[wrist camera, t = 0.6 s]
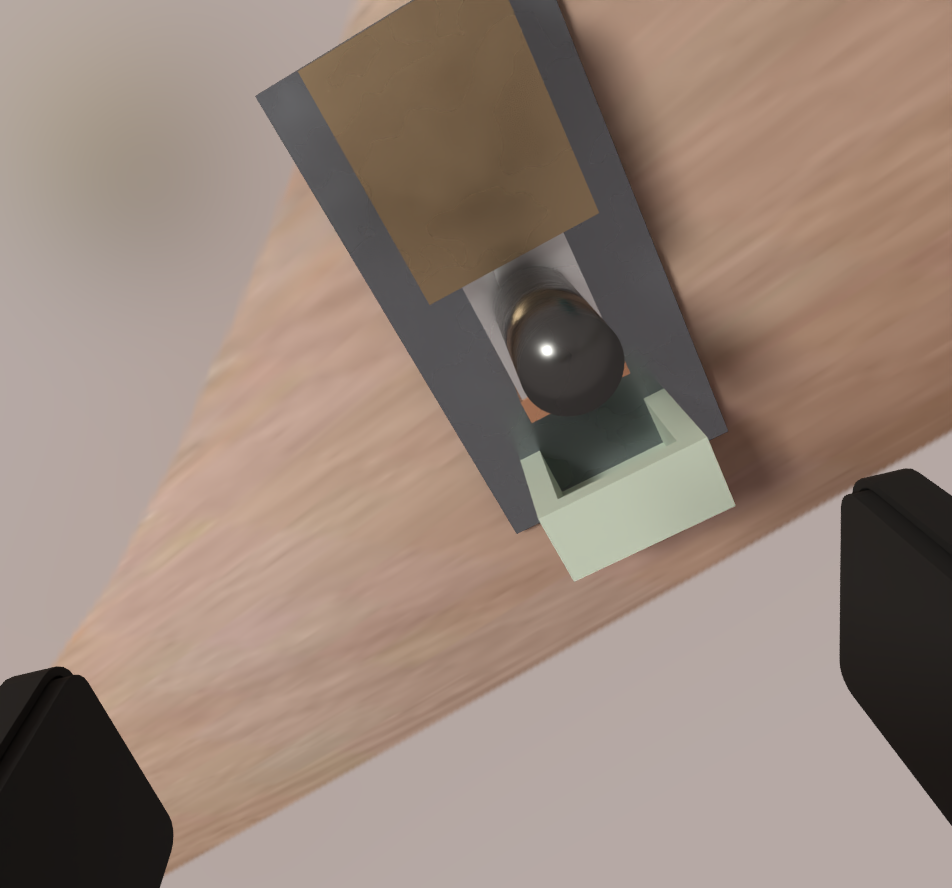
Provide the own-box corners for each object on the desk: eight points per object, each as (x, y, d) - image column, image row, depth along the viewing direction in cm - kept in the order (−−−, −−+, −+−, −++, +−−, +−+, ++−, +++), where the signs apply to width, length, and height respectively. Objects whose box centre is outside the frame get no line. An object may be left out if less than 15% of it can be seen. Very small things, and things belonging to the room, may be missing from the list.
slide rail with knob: (525, -67, 25) (554, -110, 20) (723, 425, 34) (777, 482, 29) (258, 96, 26) (222, 94, 21) (515, 527, 35) (532, 598, 30)
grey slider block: (450, 3, 25) (473, -56, 16) (606, 343, 31) (688, 445, 22) (345, 66, 25) (309, 45, 16) (518, 389, 31) (563, 506, 22)
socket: (663, 388, 32) (707, 437, 27) (690, 449, 34) (735, 505, 29) (520, 460, 33) (538, 519, 28) (551, 516, 34) (574, 581, 30)
